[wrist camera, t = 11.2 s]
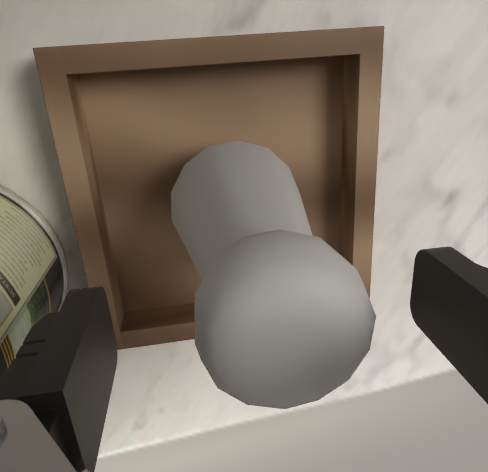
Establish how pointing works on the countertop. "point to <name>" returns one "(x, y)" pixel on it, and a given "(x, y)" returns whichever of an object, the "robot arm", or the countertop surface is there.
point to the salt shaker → (266, 281)
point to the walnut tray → (196, 140)
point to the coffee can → (26, 273)
